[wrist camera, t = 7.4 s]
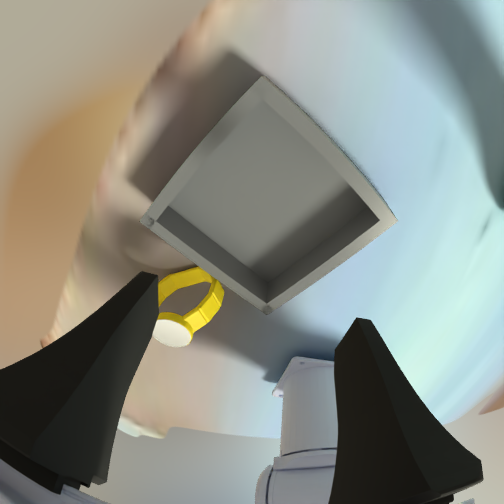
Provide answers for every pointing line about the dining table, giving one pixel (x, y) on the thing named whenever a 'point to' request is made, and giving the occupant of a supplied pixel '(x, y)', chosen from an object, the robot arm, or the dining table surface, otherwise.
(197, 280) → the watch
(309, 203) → the box
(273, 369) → the dining table surface
